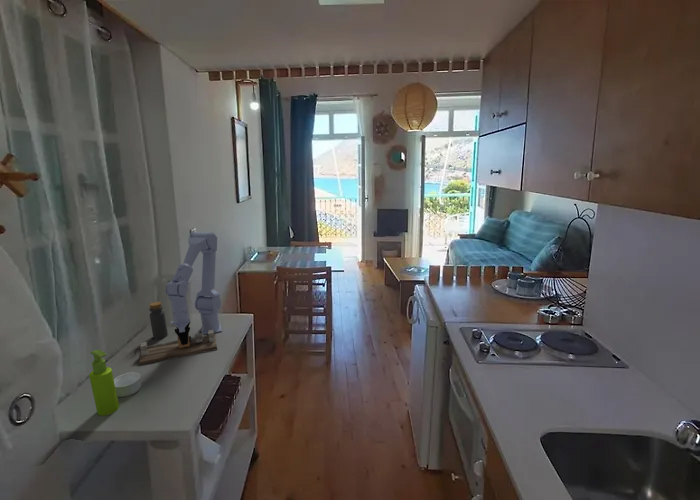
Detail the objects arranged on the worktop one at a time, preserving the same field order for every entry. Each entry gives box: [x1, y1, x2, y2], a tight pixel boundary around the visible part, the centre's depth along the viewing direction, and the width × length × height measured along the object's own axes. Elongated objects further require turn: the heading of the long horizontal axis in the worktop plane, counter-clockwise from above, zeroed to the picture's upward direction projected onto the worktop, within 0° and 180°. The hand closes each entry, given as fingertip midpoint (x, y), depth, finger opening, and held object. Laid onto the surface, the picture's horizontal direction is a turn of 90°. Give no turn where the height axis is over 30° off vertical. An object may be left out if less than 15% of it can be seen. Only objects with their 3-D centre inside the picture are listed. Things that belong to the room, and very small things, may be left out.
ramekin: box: [114, 371, 142, 398], centre depth 136 cm, size 9×9×4 cm
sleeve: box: [177, 334, 190, 348], centre depth 164 cm, size 4×4×5 cm
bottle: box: [149, 301, 169, 340], centre depth 176 cm, size 6×6×15 cm
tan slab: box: [138, 330, 218, 366], centre depth 163 cm, size 13×28×5 cm, turn 112°
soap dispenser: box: [89, 349, 120, 417], centre depth 124 cm, size 6×7×20 cm
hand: (184, 341), depth 164 cm, fingers closed on sleeve, 4 cm apart
